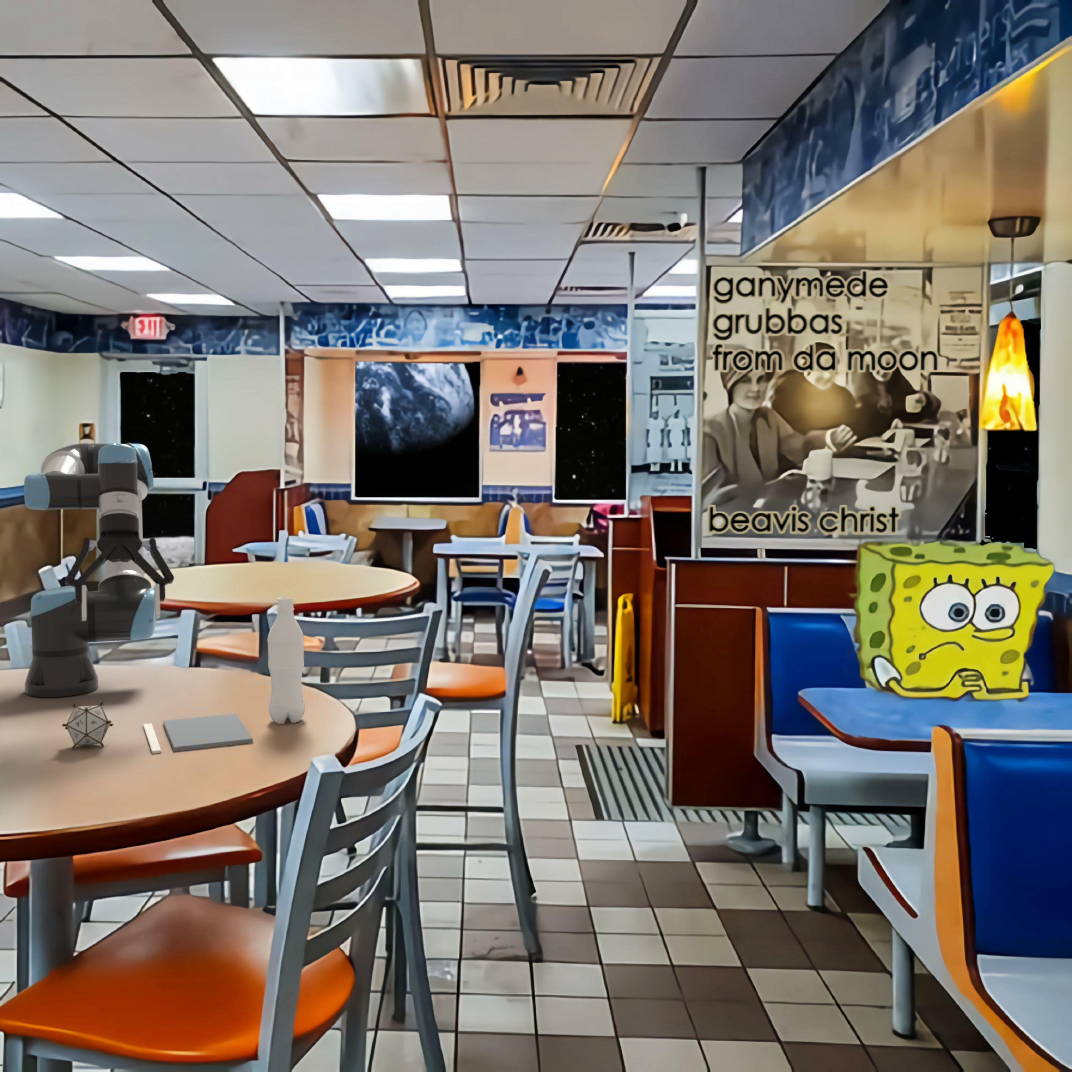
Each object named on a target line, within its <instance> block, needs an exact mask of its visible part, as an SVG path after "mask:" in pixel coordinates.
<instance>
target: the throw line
mask: <svg viewBox="0 0 1072 1072" xmlns="http://www.w3.org/2000/svg"><path fill="white" fill-rule="evenodd" d="M143 730H144V733H145V735H146V739H147V742H148V746H149V748H150V750H151V754H152V755H155V754H162V750H161V745H160V744H159V741H158V738H157V735H156V732H155V729H154V726H153V723H151V722H150V723H143Z"/></svg>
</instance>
